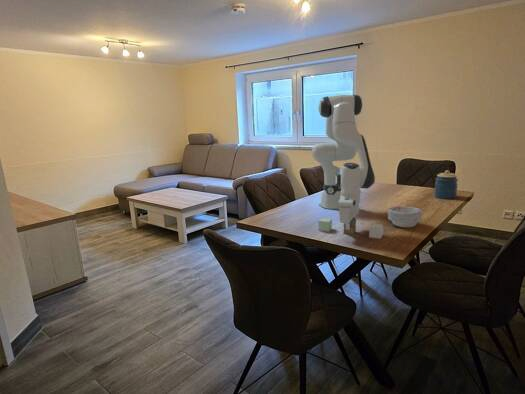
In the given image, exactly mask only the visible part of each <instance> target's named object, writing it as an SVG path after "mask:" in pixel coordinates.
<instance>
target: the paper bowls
mask: <svg viewBox="0 0 525 394" xmlns="http://www.w3.org/2000/svg"><path fill="white" fill-rule="evenodd" d="M422 214H423V212H422V209H420V208H417V207H413V206H403V205H402V206H392V207H389V208H388V212H387V218H388V219H387V220H389V221H391V223H392V224H393V225H394V226H396V227H398V228H412V227H415V226H416V225H417V223H419V222H422Z"/></svg>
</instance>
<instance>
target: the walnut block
mask: <svg viewBox="0 0 525 394" xmlns="http://www.w3.org/2000/svg"><path fill="white" fill-rule="evenodd" d="M356 228H357V217H355V218H353V219H352V220H351V221H350V229H349V230H346V225H345V223H343V235H344V234H345V235H351V236H352V235H355V233H356V232H357V230H356Z"/></svg>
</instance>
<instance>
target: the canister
mask: <svg viewBox="0 0 525 394" xmlns="http://www.w3.org/2000/svg"><path fill="white" fill-rule="evenodd" d="M436 176H437V177H436V178H435V183H434V194H433V195H434V198H437V199H441V200H442V199H444V200H452V199H453V200H454V199H457V195H458V194H457V193H458V181H459V178H457V177H458V176H457V175H456V174H455V173H453V172H450V170H449V169H447V170H445V171H444V172H439V173H438V174H436Z"/></svg>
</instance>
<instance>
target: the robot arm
mask: <svg viewBox="0 0 525 394" xmlns="http://www.w3.org/2000/svg"><path fill="white" fill-rule="evenodd" d="M362 100H363V99H362V97H361V96H360V95H359V94H358V95H357V94H338V95H332V96H330V95H329V96H323V97H322V98H320V100H319V102H318V112H319V115H320V116H321V117H323V118H326V119H325V135H326V136H327V138H328V139H330V140H332V141H333V142H332V141H331V142H320V143H316V144H314V146H313V147H312V149H311V155H312V157H313V159H314V160H315V161H317V163H318V164H320V166H321V167H322V170H323V175H324V176H323V177H324V183H323V191H321V193H320V195H321V197H320V202H319V203H318V206H320V207H322V209H329V210H339V211H338V213H339V215H338V216H339V222H340V223H341V224H344V223H345V225H346V230H349V229H350V221H351V220H352V219H353V218H356V216H357V215H358V214H359V213H360V203H361V191H360V190H361V189H370V188H371V187H372V186H373V185H374V183H375V181H376V180H375V179H376V176H375V172H374V169H373V166H372V162H371V159H370V154H369V151H368V147H367V142H366V139H365V137H364V135H363V134H361V133H360V132H359V130H358V129H357V122H356V120H357V119H356V116H358V115H360V113H361V112H362V109H363V106H364V104H363V101H362ZM357 154H358V158H359V162H360V165H359V164H358V163H355V162H346V163H343V164H342V166H341V168H340V167H339V166H336V165H334V163H333V162H334V161H335V162H340V161H341V162H342V161H343V162H344V161H348V160H349V161H350V160H353V159H354V158H355V157H356V155H357ZM360 166H361V167H360Z"/></svg>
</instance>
